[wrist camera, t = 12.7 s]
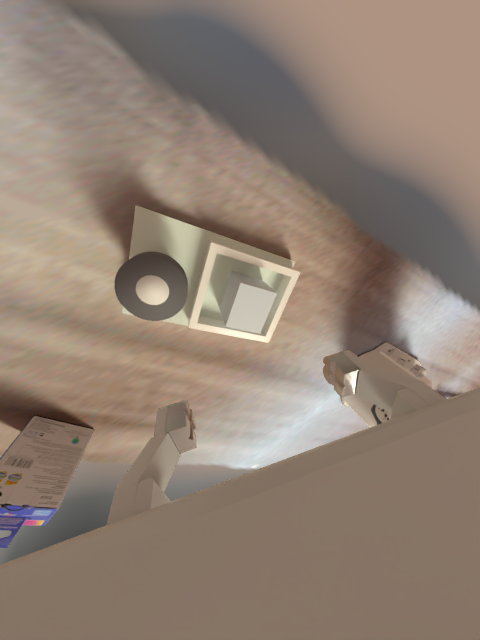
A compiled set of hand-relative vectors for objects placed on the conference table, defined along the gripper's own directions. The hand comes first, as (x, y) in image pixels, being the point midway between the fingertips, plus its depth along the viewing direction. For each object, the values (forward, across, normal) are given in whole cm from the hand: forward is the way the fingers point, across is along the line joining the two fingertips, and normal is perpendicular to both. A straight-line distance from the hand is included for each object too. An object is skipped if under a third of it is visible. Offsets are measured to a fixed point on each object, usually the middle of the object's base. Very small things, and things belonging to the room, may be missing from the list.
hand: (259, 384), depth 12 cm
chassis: (+22, 0, +1) cm, 22 cm away
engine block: (+20, -4, +3) cm, 21 cm away
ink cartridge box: (+23, +34, +21) cm, 46 cm away
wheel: (+16, +7, -3) cm, 18 cm away
